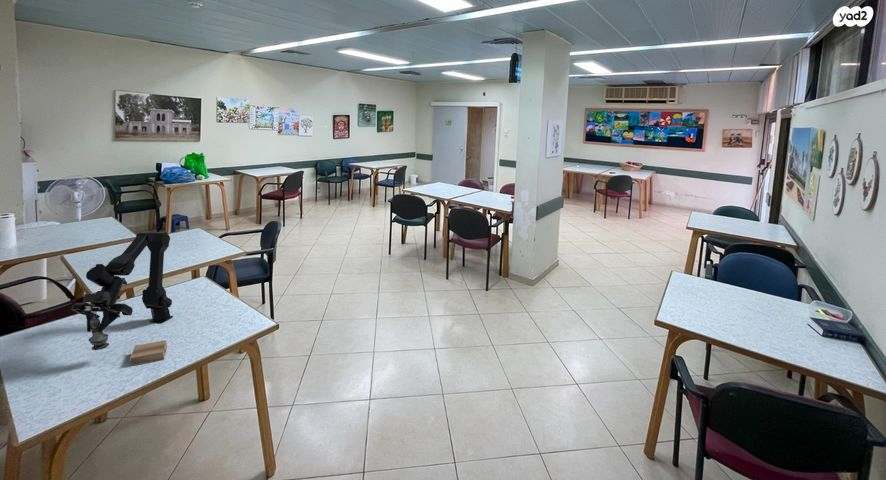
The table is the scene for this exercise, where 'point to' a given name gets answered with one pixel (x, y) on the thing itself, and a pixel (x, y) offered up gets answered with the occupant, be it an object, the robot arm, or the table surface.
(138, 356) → the walnut pedestal
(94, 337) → the grey chess bishop
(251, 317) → the table surface
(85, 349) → the table surface
